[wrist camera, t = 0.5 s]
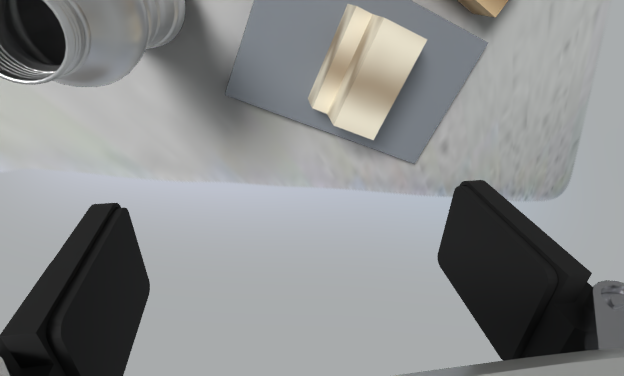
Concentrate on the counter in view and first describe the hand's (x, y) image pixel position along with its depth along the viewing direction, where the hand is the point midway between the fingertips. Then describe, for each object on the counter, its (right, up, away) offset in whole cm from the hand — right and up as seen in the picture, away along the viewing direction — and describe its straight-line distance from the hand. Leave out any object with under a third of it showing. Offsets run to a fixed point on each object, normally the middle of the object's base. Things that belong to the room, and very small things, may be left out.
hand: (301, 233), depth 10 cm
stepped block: (+5, +13, +24) cm, 27 cm away
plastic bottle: (-13, +17, +19) cm, 29 cm away
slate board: (+5, +13, +25) cm, 28 cm away
